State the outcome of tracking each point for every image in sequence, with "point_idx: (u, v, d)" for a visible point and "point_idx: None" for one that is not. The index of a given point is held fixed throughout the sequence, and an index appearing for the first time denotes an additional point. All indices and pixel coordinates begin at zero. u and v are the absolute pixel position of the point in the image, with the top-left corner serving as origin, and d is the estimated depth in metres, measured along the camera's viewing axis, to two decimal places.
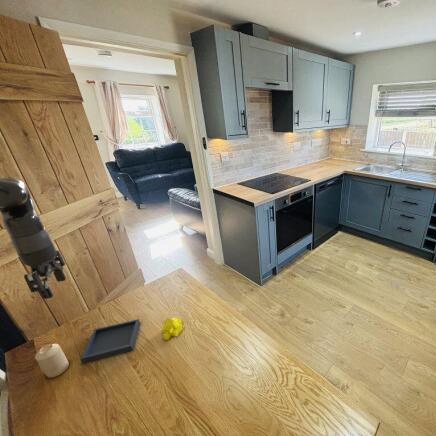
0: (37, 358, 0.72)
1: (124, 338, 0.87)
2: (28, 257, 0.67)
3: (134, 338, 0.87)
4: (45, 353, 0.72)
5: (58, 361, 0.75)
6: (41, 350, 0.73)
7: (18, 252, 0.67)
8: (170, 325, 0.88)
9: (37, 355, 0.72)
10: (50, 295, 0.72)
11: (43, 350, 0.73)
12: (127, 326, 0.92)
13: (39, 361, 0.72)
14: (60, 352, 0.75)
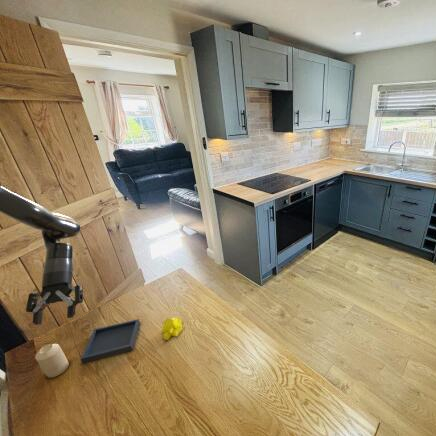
0: (37, 358, 0.72)
1: (124, 338, 0.87)
2: (70, 275, 0.84)
3: (134, 338, 0.87)
4: (45, 353, 0.72)
5: (58, 361, 0.75)
6: (41, 350, 0.73)
7: (65, 270, 0.83)
8: (170, 325, 0.88)
9: (37, 355, 0.72)
10: (73, 314, 0.81)
11: (43, 350, 0.73)
12: (127, 326, 0.92)
13: (39, 361, 0.72)
14: (60, 352, 0.75)
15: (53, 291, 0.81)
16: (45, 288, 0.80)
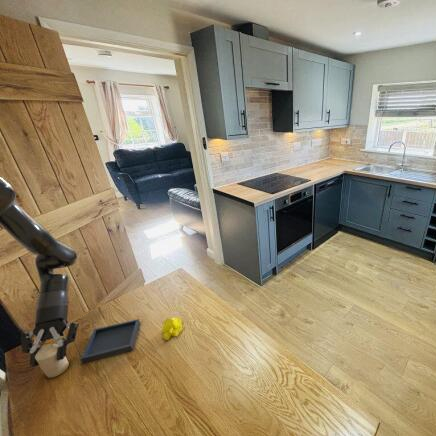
0: (37, 358, 0.72)
1: (124, 338, 0.87)
2: (65, 309, 0.79)
3: (134, 338, 0.87)
4: (45, 353, 0.72)
5: (58, 361, 0.75)
6: (41, 350, 0.73)
7: (60, 304, 0.78)
8: (170, 325, 0.88)
9: (37, 355, 0.72)
10: None
11: (43, 350, 0.73)
12: (127, 326, 0.92)
13: (39, 361, 0.72)
14: None
15: (47, 327, 0.76)
16: (38, 324, 0.75)
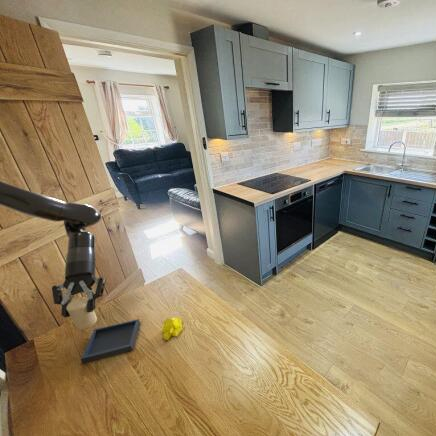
0: (69, 309, 0.73)
1: (124, 338, 0.87)
2: (93, 265, 0.81)
3: (134, 338, 0.87)
4: (76, 304, 0.74)
5: (88, 314, 0.76)
6: (72, 302, 0.75)
7: (88, 260, 0.79)
8: (170, 325, 0.88)
9: (68, 306, 0.74)
10: None
11: (74, 302, 0.75)
12: (127, 326, 0.92)
13: (70, 312, 0.73)
14: None
15: (77, 281, 0.77)
16: (68, 278, 0.77)
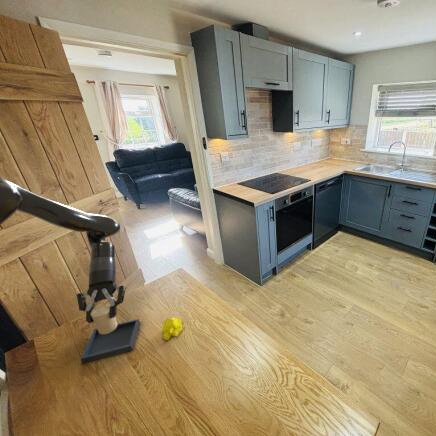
0: (93, 315, 0.78)
1: (124, 338, 0.87)
2: (114, 273, 0.86)
3: (134, 338, 0.87)
4: (100, 311, 0.79)
5: (110, 319, 0.82)
6: (95, 308, 0.80)
7: (110, 269, 0.85)
8: (170, 325, 0.88)
9: (93, 312, 0.79)
10: None
11: (97, 309, 0.80)
12: (127, 326, 0.92)
13: (95, 318, 0.79)
14: None
15: (99, 289, 0.83)
16: (92, 286, 0.82)
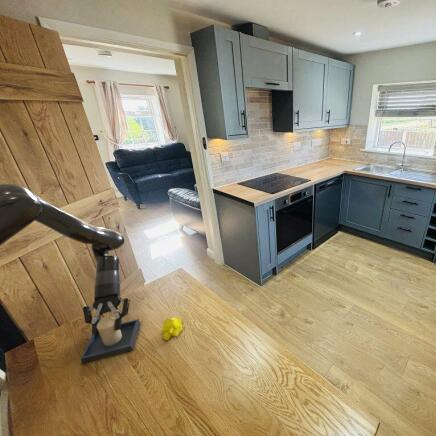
0: (99, 328, 0.81)
1: (124, 338, 0.87)
2: (119, 286, 0.89)
3: (134, 338, 0.87)
4: (105, 323, 0.82)
5: (115, 332, 0.84)
6: (101, 321, 0.83)
7: (114, 282, 0.87)
8: (170, 325, 0.88)
9: (98, 325, 0.81)
10: None
11: (103, 321, 0.83)
12: (127, 326, 0.92)
13: (100, 330, 0.81)
14: None
15: (105, 302, 0.85)
16: (97, 299, 0.85)
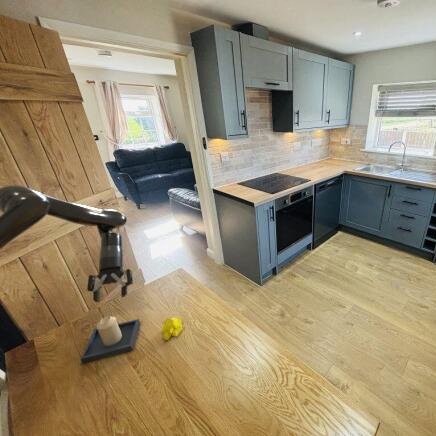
0: (99, 327, 0.81)
1: (124, 338, 0.87)
2: (121, 260, 0.97)
3: (134, 338, 0.87)
4: (105, 323, 0.82)
5: (115, 332, 0.84)
6: (101, 321, 0.83)
7: (117, 256, 0.95)
8: (170, 325, 0.88)
9: (98, 325, 0.81)
10: None
11: (103, 321, 0.83)
12: (127, 326, 0.92)
13: (100, 330, 0.81)
14: (116, 324, 0.85)
15: (108, 274, 0.93)
16: (102, 271, 0.93)
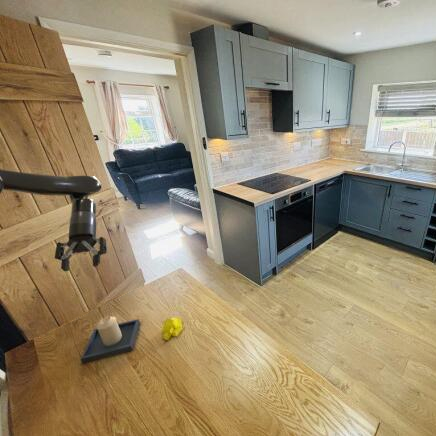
0: (99, 328, 0.81)
1: (124, 338, 0.87)
2: (94, 228, 0.89)
3: (134, 338, 0.87)
4: (105, 323, 0.82)
5: (115, 332, 0.84)
6: (101, 321, 0.83)
7: (90, 223, 0.87)
8: (170, 325, 0.88)
9: (98, 325, 0.81)
10: None
11: (103, 321, 0.83)
12: (127, 326, 0.92)
13: (100, 330, 0.81)
14: (116, 324, 0.85)
15: (79, 241, 0.85)
16: (72, 238, 0.85)
